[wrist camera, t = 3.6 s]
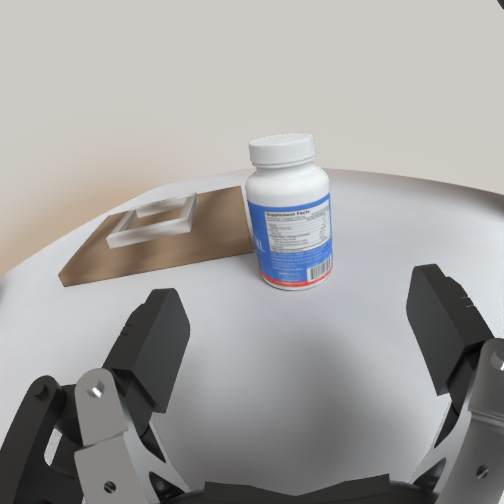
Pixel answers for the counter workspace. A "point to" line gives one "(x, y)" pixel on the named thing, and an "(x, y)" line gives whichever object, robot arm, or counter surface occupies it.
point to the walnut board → (163, 237)
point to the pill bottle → (290, 211)
